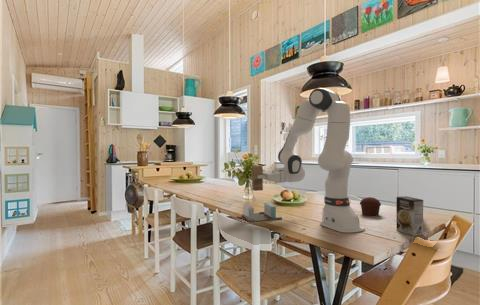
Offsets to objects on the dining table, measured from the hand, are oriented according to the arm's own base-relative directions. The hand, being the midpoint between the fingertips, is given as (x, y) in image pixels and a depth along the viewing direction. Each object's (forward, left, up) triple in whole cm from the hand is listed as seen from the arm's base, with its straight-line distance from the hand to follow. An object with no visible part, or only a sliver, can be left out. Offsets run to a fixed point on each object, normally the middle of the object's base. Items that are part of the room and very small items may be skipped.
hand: (255, 176), depth 155 cm
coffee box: (-47, -61, -24) cm, 80 cm away
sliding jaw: (-1, -8, -23) cm, 25 cm away
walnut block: (0, -1, -8) cm, 8 cm away
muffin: (-14, -67, -24) cm, 72 cm away
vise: (-1, -3, -24) cm, 24 cm away
